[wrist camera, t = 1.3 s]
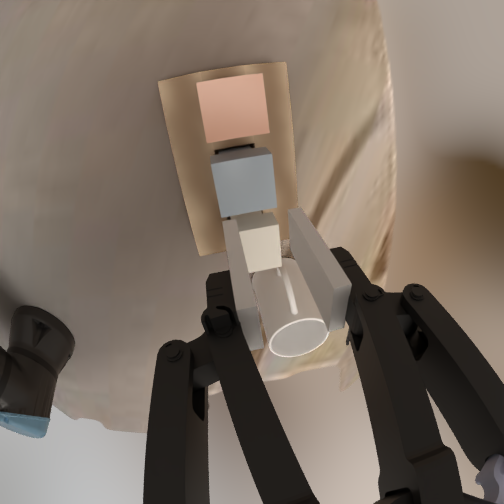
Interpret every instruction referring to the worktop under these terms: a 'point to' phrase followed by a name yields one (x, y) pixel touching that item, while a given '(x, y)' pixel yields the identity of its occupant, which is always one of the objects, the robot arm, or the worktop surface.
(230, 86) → the terracotta key
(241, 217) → the ivory key
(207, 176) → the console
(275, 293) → the mug
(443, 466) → the robot arm
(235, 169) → the slate key
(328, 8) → the worktop surface
